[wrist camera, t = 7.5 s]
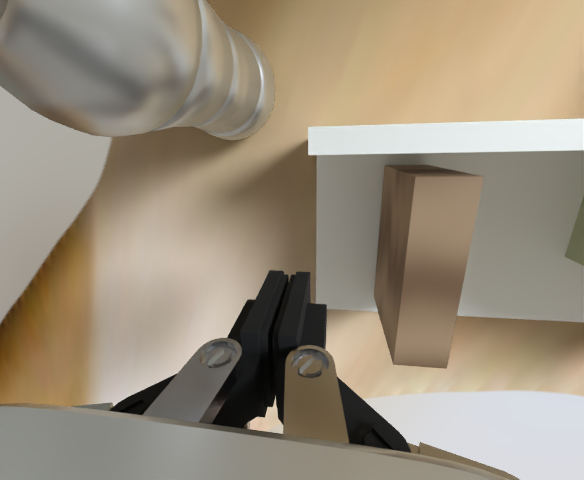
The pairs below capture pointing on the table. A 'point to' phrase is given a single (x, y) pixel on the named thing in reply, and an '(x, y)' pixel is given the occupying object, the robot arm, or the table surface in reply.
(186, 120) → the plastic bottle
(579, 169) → the shelf
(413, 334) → the bookend
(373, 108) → the table surface
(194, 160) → the table surface
